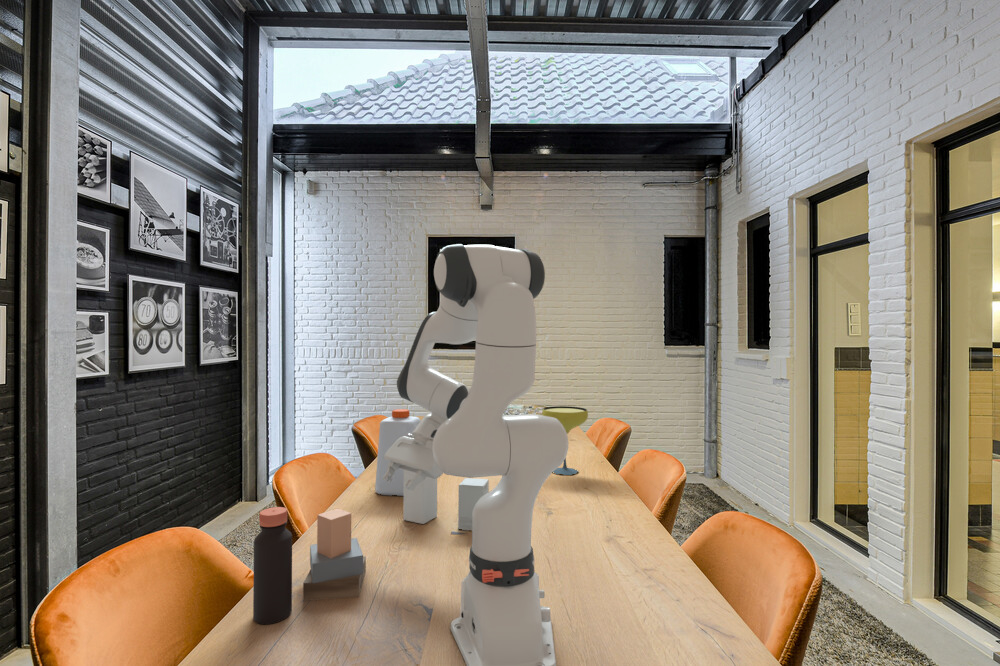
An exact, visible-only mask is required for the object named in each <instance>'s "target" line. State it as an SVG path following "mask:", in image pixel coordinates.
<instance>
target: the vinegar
mask: <svg viewBox="0 0 1000 666" xmlns="http://www.w3.org/2000/svg"><path fill="white" fill-rule="evenodd" d="M258 520H259V528H260V529H261V530H260V532H259V533H258V534H257V535H256V537H254V539H253V540H254V541H253V591H252V592H253V599H252V600H253V602H252V603H253V605H252V606H253V607H252V608H253V609H252V611H253V612H252V613H253V615H252V617H253V621H254V622H255V623H257V624H260V625H271V624H276V623H279V622H281V621H283V620H285V619H287V618H288V617H289V616H290V615H291V613H292V611H293V609H292V608H293V606H292V604H293V603H292V602H293V534H292V532H291V531H290V530H289V529H287V528H286V526H287V524H288V509H287V508H286V507H283V506H273V507H270V508H269V507H268V508H266V509H263V510H261V511H260V512H259V519H258Z"/></svg>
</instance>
